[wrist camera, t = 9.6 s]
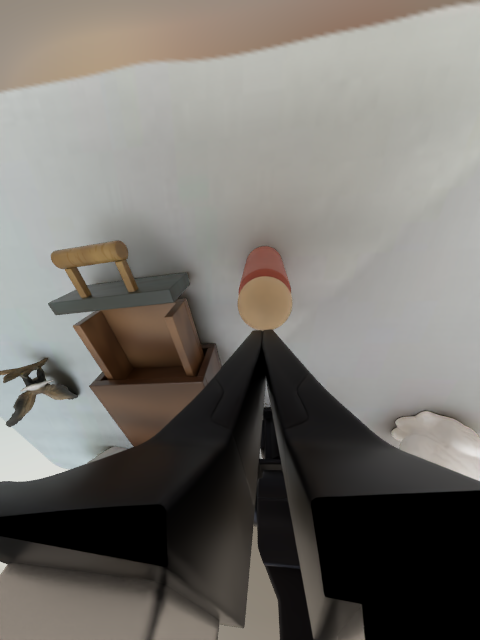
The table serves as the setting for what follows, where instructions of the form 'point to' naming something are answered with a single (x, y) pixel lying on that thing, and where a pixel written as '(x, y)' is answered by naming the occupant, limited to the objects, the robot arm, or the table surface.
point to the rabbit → (440, 442)
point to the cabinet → (152, 398)
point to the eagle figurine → (33, 389)
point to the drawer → (130, 317)
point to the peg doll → (264, 290)
